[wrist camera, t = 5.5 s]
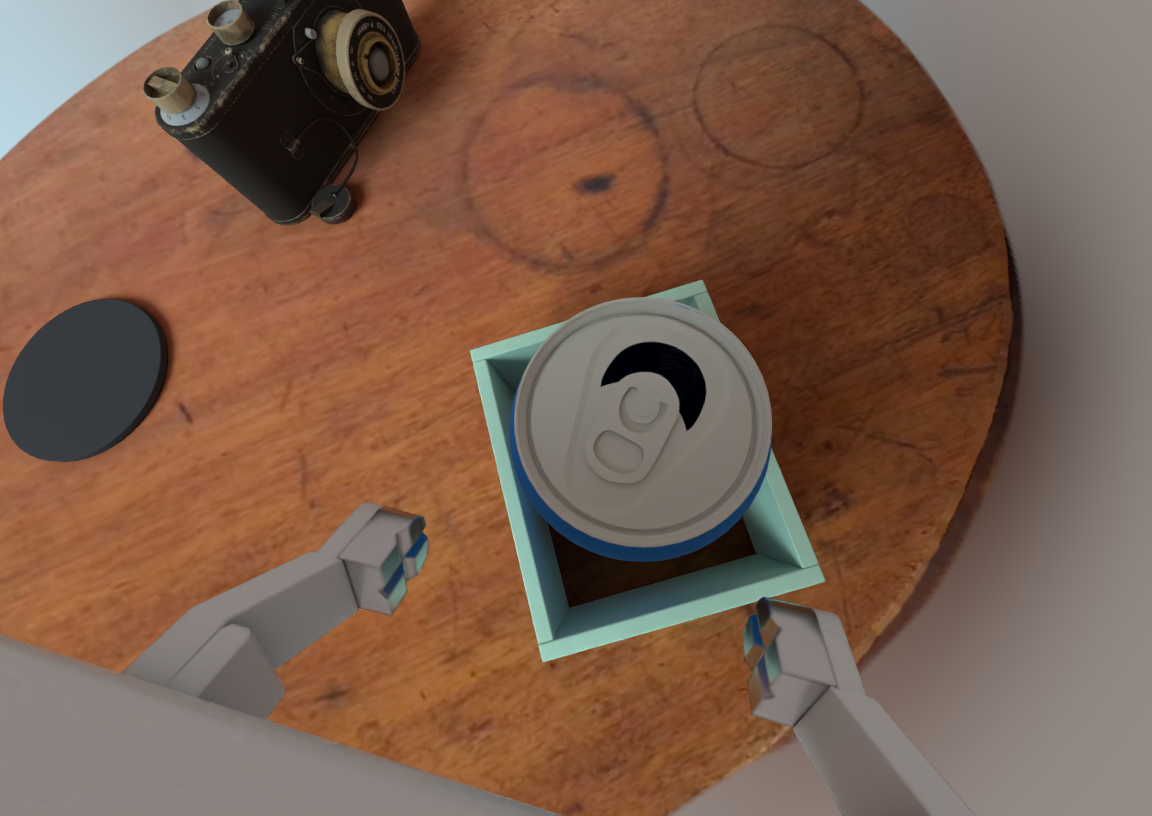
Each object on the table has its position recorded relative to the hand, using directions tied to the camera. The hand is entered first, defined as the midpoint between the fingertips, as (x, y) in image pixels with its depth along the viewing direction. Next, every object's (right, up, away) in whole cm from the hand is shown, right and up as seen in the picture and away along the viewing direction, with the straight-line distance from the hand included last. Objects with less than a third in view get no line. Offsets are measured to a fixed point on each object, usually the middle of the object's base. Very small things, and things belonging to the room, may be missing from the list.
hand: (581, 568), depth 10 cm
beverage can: (+2, +1, +11) cm, 11 cm away
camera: (-14, +22, +18) cm, 32 cm away
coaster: (-29, +6, +15) cm, 33 cm away
